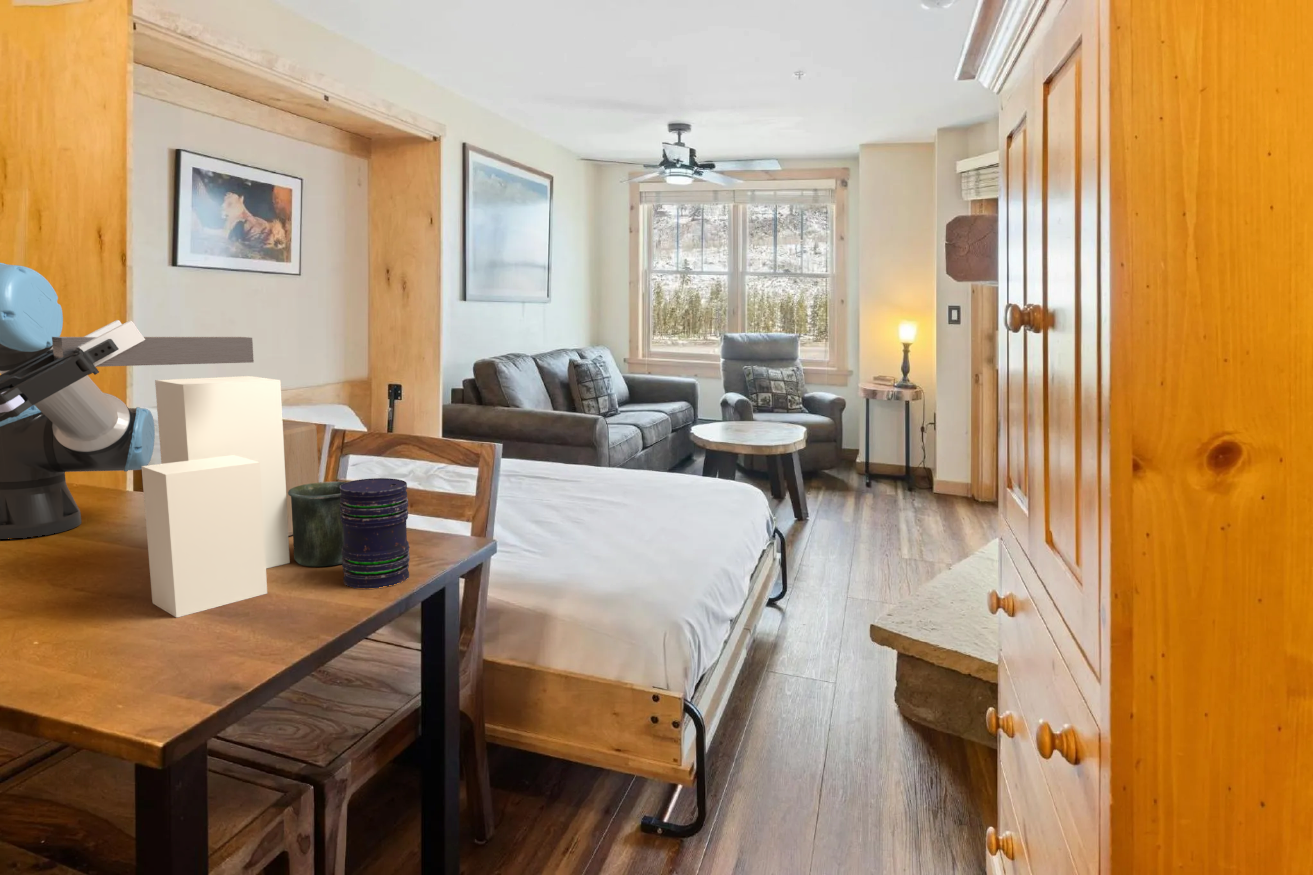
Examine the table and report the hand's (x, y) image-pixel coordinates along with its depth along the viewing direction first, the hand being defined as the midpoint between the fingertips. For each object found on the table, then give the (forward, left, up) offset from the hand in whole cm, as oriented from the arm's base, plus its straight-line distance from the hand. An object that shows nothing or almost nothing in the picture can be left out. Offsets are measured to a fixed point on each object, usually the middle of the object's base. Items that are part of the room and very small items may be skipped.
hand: (130, 329), depth 96 cm
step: (0, +7, -38) cm, 39 cm away
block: (-27, +31, -38) cm, 56 cm away
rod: (0, +3, -4) cm, 6 cm away
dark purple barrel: (+10, +27, -38) cm, 48 cm away
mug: (-5, +29, -38) cm, 48 cm away
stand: (-12, +15, -38) cm, 43 cm away
